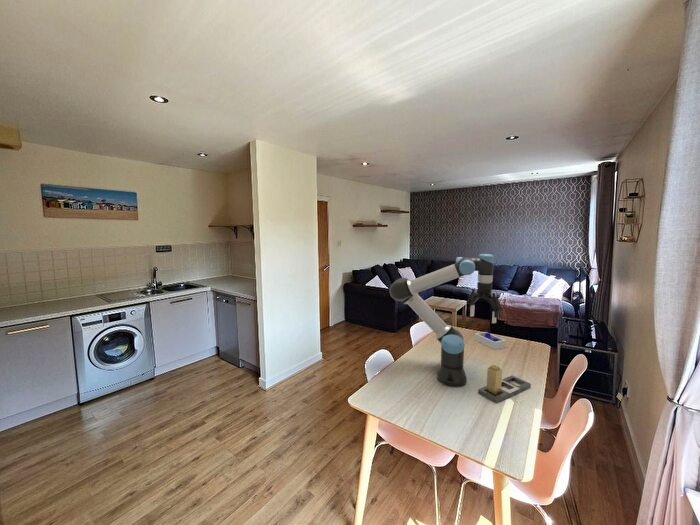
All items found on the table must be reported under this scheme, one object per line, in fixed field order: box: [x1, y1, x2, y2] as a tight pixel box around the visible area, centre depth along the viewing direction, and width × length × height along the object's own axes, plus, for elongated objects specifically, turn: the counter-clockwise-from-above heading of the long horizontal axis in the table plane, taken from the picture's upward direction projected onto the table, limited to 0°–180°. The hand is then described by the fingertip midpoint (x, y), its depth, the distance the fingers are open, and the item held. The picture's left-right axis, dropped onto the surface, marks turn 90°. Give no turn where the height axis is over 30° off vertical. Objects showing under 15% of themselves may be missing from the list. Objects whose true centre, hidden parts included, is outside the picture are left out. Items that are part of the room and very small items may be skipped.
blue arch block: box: [485, 332, 499, 342], centre depth 208 cm, size 12×4×6 cm, turn 4°
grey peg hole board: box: [477, 375, 532, 404], centre depth 148 cm, size 28×10×2 cm, turn 119°
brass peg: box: [486, 364, 503, 396], centre depth 143 cm, size 5×5×15 cm
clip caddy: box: [474, 331, 507, 350], centre depth 208 cm, size 10×18×5 cm, turn 19°
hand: (482, 319), depth 163 cm, fingers open, 13 cm apart
